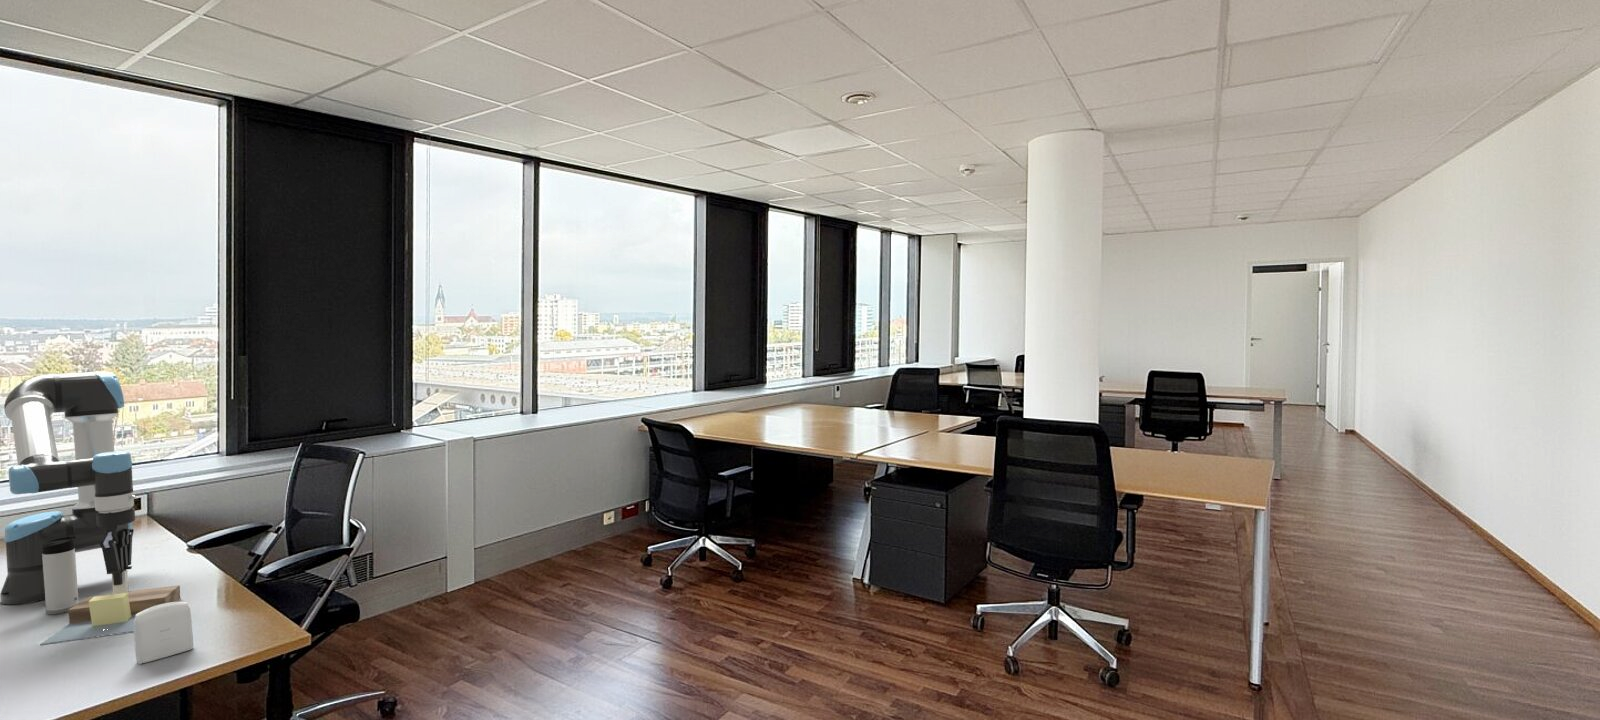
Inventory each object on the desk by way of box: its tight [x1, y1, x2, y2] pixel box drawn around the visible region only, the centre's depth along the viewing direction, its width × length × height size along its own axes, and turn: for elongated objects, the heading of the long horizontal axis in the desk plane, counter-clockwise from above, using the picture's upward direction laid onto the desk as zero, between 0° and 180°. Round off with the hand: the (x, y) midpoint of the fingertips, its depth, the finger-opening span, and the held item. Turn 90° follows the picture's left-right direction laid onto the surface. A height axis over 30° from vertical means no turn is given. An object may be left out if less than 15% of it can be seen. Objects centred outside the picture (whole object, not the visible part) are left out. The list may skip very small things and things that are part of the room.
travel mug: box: [42, 536, 79, 615], centre depth 196 cm, size 6×7×20 cm
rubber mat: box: [39, 615, 135, 646], centre depth 185 cm, size 13×20×1 cm, turn 113°
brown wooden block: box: [67, 584, 181, 624], centre depth 195 cm, size 10×20×4 cm, turn 113°
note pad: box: [89, 593, 131, 626], centre depth 187 cm, size 7×7×2 cm
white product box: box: [133, 601, 194, 665], centre depth 169 cm, size 10×4×12 cm, turn 140°
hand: (121, 595), depth 192 cm, fingers closed
